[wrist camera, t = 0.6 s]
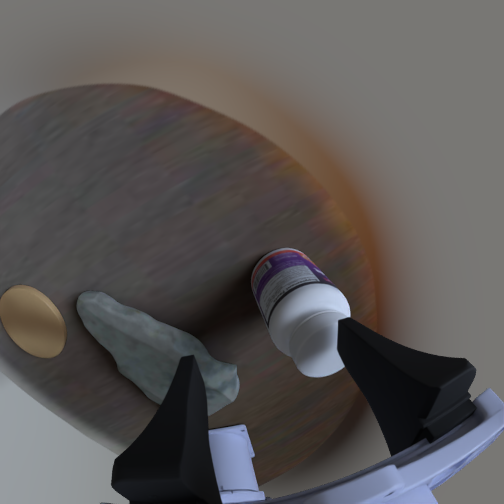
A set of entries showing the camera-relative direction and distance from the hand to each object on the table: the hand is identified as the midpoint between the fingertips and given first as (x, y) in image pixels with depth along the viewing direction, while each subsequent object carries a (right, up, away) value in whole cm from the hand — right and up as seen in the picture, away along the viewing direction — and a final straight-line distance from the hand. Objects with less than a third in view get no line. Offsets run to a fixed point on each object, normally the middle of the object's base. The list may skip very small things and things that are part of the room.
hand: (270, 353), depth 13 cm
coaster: (-22, -2, +7) cm, 23 cm away
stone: (-9, -4, +11) cm, 15 cm away
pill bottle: (+1, +3, +11) cm, 11 cm away
